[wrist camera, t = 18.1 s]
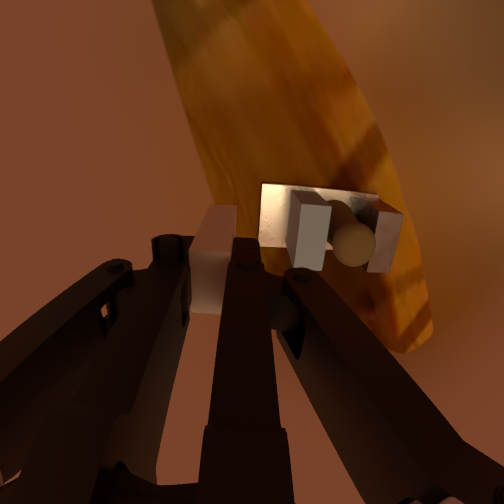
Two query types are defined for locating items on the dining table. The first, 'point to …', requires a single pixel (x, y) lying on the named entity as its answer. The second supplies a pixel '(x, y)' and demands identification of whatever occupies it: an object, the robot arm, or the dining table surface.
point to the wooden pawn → (349, 236)
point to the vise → (361, 203)
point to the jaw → (307, 229)
